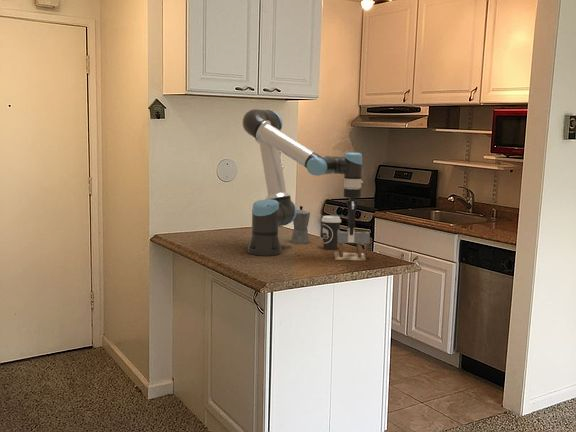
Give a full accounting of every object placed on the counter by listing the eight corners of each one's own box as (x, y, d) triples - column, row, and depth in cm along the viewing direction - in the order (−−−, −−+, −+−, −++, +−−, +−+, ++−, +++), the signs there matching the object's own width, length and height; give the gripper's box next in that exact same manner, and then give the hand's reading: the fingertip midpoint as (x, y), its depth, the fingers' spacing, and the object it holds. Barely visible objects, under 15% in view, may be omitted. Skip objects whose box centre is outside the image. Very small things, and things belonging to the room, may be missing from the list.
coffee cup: (339, 250, 288) (340, 218, 286) (318, 249, 290) (319, 217, 288) (341, 246, 297) (342, 216, 295) (321, 245, 299) (322, 214, 297)
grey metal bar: (337, 243, 270) (338, 233, 270) (337, 241, 275) (337, 231, 274) (369, 243, 270) (369, 233, 269) (368, 241, 274) (368, 231, 274)
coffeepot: (314, 244, 303) (315, 207, 300) (297, 245, 299) (298, 208, 296) (300, 238, 317) (301, 203, 314) (284, 239, 313) (285, 204, 310)
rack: (335, 259, 268) (335, 245, 267) (334, 254, 279) (334, 241, 278) (365, 260, 268) (366, 246, 267) (363, 255, 279) (364, 242, 278)
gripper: (362, 190, 261) (360, 245, 264) (359, 186, 277) (357, 238, 281) (344, 189, 261) (343, 244, 264) (342, 186, 278) (341, 237, 281)
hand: (350, 241), depth 272 cm, fingers closed on grey metal bar, 4 cm apart
